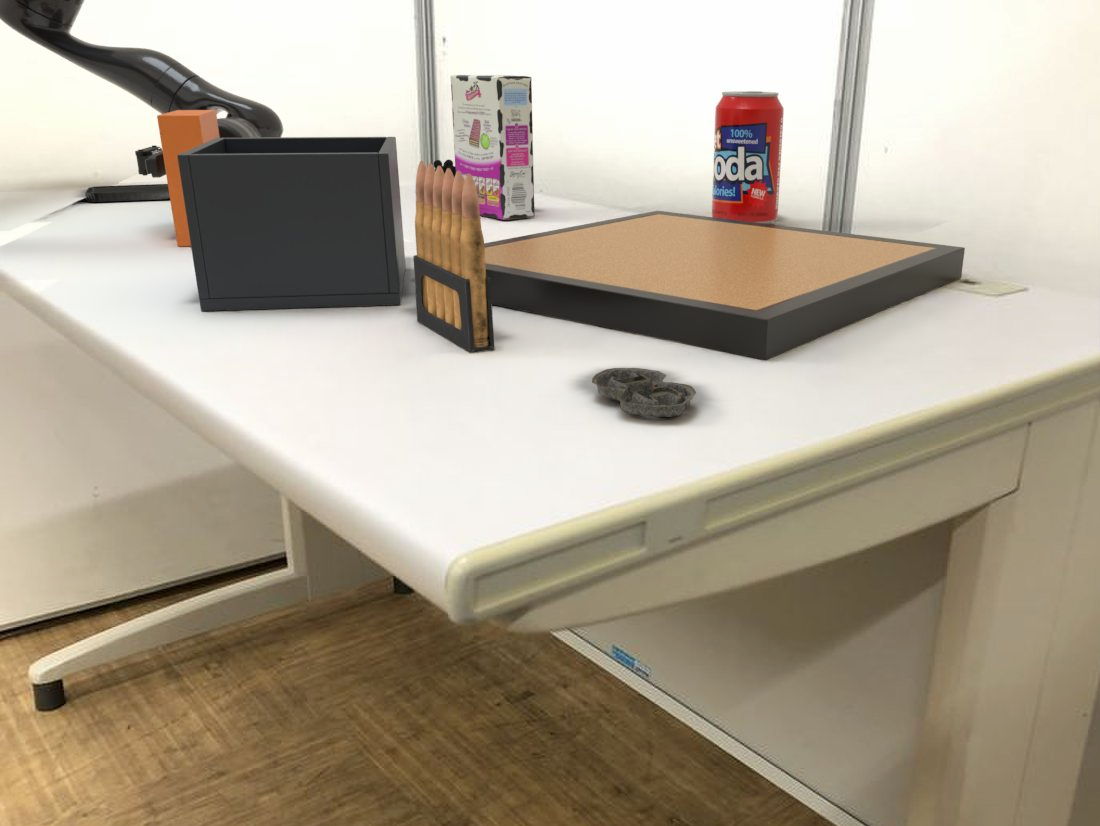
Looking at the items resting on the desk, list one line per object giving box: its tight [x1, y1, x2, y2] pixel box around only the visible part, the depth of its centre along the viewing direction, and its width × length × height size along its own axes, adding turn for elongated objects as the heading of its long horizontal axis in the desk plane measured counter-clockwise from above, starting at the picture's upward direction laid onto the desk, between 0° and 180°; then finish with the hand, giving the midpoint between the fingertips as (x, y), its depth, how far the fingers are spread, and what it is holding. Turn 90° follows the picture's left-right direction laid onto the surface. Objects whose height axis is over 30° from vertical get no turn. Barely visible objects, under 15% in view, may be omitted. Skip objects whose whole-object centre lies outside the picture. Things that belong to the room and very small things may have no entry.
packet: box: [156, 110, 220, 247], centre depth 113 cm, size 4×9×13 cm, turn 10°
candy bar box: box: [449, 74, 536, 221], centre depth 130 cm, size 11×5×16 cm, turn 40°
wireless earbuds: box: [433, 159, 456, 177], centre depth 146 cm, size 7×2×5 cm, turn 120°
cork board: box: [484, 210, 966, 361], centre depth 95 cm, size 36×3×35 cm
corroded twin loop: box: [591, 367, 697, 418], centre depth 64 cm, size 5×8×1 cm, turn 30°
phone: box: [84, 183, 170, 203], centre depth 144 cm, size 8×1×15 cm
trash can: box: [177, 136, 406, 312], centre depth 90 cm, size 16×16×12 cm
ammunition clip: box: [412, 160, 495, 354], centre depth 76 cm, size 11×2×12 cm, turn 31°
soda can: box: [711, 90, 785, 224], centre depth 124 cm, size 8×8×15 cm
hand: (196, 166), depth 112 cm, fingers open, 8 cm apart
